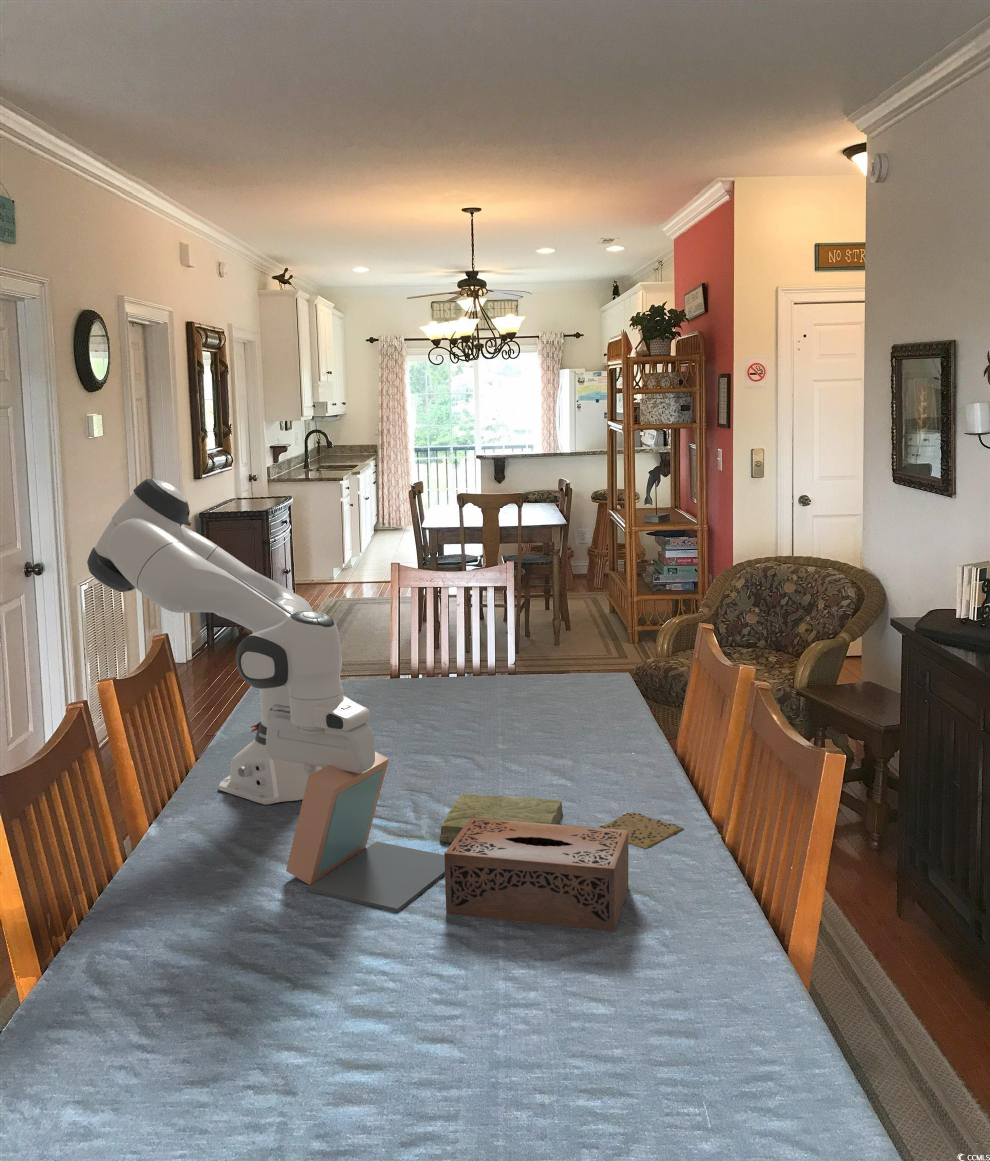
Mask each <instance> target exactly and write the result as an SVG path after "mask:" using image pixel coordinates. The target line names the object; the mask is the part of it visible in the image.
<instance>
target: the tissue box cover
mask: <svg viewBox="0 0 990 1161" xmlns="http://www.w3.org/2000/svg"><path fill="white" fill-rule="evenodd" d="M443 855H444V858H445V875H444V881H445V882H444V884H445V887H444V888H445V913H446V914H447V915H455V916H457V915H458V916H465V917H475V918H484V919H494V920H500V921H501V920H504V921H512V922H522V923H529V924H537V925H548V926H558V927H565V928H566V927H568V928H574V929H576V928H578V929H585V930H595V931H605V932H613V933H614V932H615V931H616V929H617V925H618V922H619V918H620V916H621V913H622V910H623V906H624V905H625V901H626V897H627V894H628V891H629V844H628V830H619V829H607V828H599V827H592V826H581V825H569V824H567V825H566V824H559V823H558V824H546V823H534V822H522V821H510V820H498V819H486V818H474V817H471V818H470V819H469V821H468V822H467V823H466V825H465V826H464V827H463V829H462V830H461V831H460V833H459V834H458V836H457V837H456V838H455V840H454V841H453V842H451V844H450V845H449V846H448V848H447V849H446V850H445V851H444V853H443Z"/></svg>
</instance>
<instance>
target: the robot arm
mask: <svg viewBox="0 0 990 1161" xmlns="http://www.w3.org/2000/svg"><path fill="white" fill-rule="evenodd" d="M132 490H133V492H132V493H131V495H130V496H128V497H127V499H126V500H125V501H124V502H123V503H122V505H121V506H120V507H119V508H118V509H117V510H116V512H115V513H114V514H113V516H112V517H111V520H110V522H109V523H108V525H107V526H106V528H105V529H104V531H103V532H102V534H101V536H100V538H99V540H98V542H97V543H96V545H95V546H94V547H92V549H91V551H90V553H89V556H88V558H87V562H86V563H87V567H88V571H89V573H90V575H92V576H93V578H95V580H97V581H98V583H100V584H101V585H102V586H103V587H105V588H108V589H110V590H113V591H116V592H120V593H126V592H130V591H131V592H132V591H134V590H135V589H137V591H139V593H141V594H142V595H143V596H144V597H146V598H147V599H148V600H149V601H150V602H152V603H153V604H154V605H156V606H158V607H160V608H162V609H164V610H167V611H169V612H172V613H178V614H179V613H180V614H182V613H183V614H185V613H186V614H188V613H189V614H190V613H213V614H215V615H217V616H218V617H221V618H225V619H227V620H228V621H232V622H233V623H235V624H238V625H240V626H242V627H244V628H246V629H247V630H250V631H251V634H249V635H248V636H246V637H244V638H243V639H242V640H241V641H240V642H239V644H238V646H237V648H236V654H235V663H236V669H237V670H238V673H239V675H240V677H241V678H242V680H243V681H245V683H247V684H248V685H249V686H250V687H253V688H255V689H259V690H258V691H259V700H260V701H259V702H260V703H259V704H260V705H259V706H260V721H258V722H257V723H256V724H254V725H252V726H250V727H249V728H251V730H250V733H252V732H256V734H255V737H254V740H252V741H251V742H250V743H249V744H247V745H246V746H245V747H244V748H242V750H240V751H239V752H237V753H236V754H235V755H234V756H233V758H232V760H231V762H230V769H229V775H228V776H226V777H225V778H224V779H222V780H221V781H220V782H219V784H218V791H222V792H225V793H228V794H230V795H233V796H237V797H240V798H243V799H246V800H248V801H251V802H255V803H258V804H261V805H272V804H276V803H281V802H293V801H301V800H302V801H303V797H304V793H305V789H306V784H307V780H308V776H309V775H311V774H313V773H315V772H317V771H319V770H321V769H323V768H325V767H327V766H329V765H332V766H334V767H336V768H338V769H340V770H343V771H348V772H354V773H363V772H365V771H367V770H369V769H370V768H371V767H372V766H373V765H374V763H375V752H376V750H375V749H376V748H375V741H374V740H375V738H374V732H373V730H372V728H371V726H370V725H369V724H368V723H367V722H369V721H370V719H371V712H370V709H368V708H367V707H365V706H363V705H361V704H359V703H357V702H355V701H353V700H352V699H351V698H349V697H347V696H346V695H344V688H343V685H342V680H341V672H342V668H343V661H342V660H343V658H342V647H341V638H340V632H339V628H338V626H337V623H336V622H335V619H334V618H333V617H331V616H330V615H328V614H326V613H324V612H320V611H314V610H313V608H312V606H311V604H310V603H309V602H308V601H307V600H306V599H305V598H304V597H302V596H300V595H299V594H297V593H295V592H293V591H291V590H290V589H288V588H287V587H285V586H283V585H281V584H279V583H278V582H276V581H275V580H272V579H270V578H269V577H267V576H265V575H263V574H261V573H259V572H258V571H255V570H254V569H252V568H251V567H250V566H248V565H246V564H244V563H243V562H242V561H240V560H239V559H237V558H236V557H235V556H233V555H232V554H230V552H228V551H226V550H225V549H223V548H221V547H220V546H219V545H218V544H216V543H215V542H213V541H212V540H210V539H208V538H206V537H205V536H203V535H201V534H199V533H198V532H195V531H193V530H191V529H190V528H188V527H191V526H192V522H191V520H190V519H189V518H190V514H191V511H190V506H189V501H188V500H187V499H185V497H184V495H183V494H182V493H181V491H180V490H179V489H178V488H177V487H175V486H174V485H172V484H171V483H169V482H166V481H165V480H158V479H156V478H145V479H144V480H143V481H141V482H140V483H139V484H137V486H136V487H134V488H133V489H132ZM183 525H184V526H183ZM185 526H188V527H185Z"/></svg>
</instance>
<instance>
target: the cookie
mask: <svg viewBox="0 0 990 1161" xmlns="http://www.w3.org/2000/svg"><path fill="white" fill-rule="evenodd" d="M598 828H607V829H619V830H628V845H632V846H633V847H637V848H640V849H643V850H648V849H650V848H653V846H655V845H658V844H659V843H661V842H664V840H667V839H669V838H670V837H671V838H672V836H675V835H677V834H678V833H680V832H682V831H684V830H685V828H684V827H682V826H679V825H677V824H674V823H673V824H672V823H670V822H665V821H662V820H660V819H656V818H653V817H649V816H646V815H643V814H642V813H637V812H635V811H634V812H633V811H632V812H627V813H625V814H623V815H622V816H619V817H617V818H616V819H614V820H612V821H611V822H608V823H605V824H603V825H600V826H599V827H598Z"/></svg>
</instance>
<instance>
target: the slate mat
mask: <svg viewBox="0 0 990 1161" xmlns="http://www.w3.org/2000/svg"><path fill="white" fill-rule="evenodd" d="M443 877H445V858H444V854H440V853H438V852H437V853H435V852H431V851H426V850H420V849H417V848H413V847H412V848H410V847H408V846H402V845H397V844H390V843H386V842H381V841H378V840H377V841H375V842H373V843H372V844H370V845H369V846H368V847H367V846H366V848H365V849H363V850H362V851H360V852H359V853H357V854H356V855H354V856H353V857H351V858H350V859H348V860H347V861H346V862H344V863H343V864H341V865H340V866H338V867H337V868H335V869H334V870H332V871H331V872H329V873H328V874H326V875H325V876H323V877H322V878H320V879H319V880H317V881H316V882H314V883H313V884H311V885H309V886H308V887H307V892H310V893H313V894H317V895H318V894H319V895H322V896H327V897H331V898H335V899H338V900H343V901H347V902H351V903H355V904H361V905H365V906H368V907H374V908H378V909H381V910H386V911H391V912H395V913H399V912H400V911H402V909H404V908H406V906H408V905H409V904H410V903H411V902H413V901H414V900H415V899H416V898H418V897H419V896H420V895H421V894H422V893H424V892H425V891H426V890H428V889H429V888H430V887H431V886H433V885H434V884H435V883H437V882H438V881H439V880H441V878H443Z"/></svg>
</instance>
